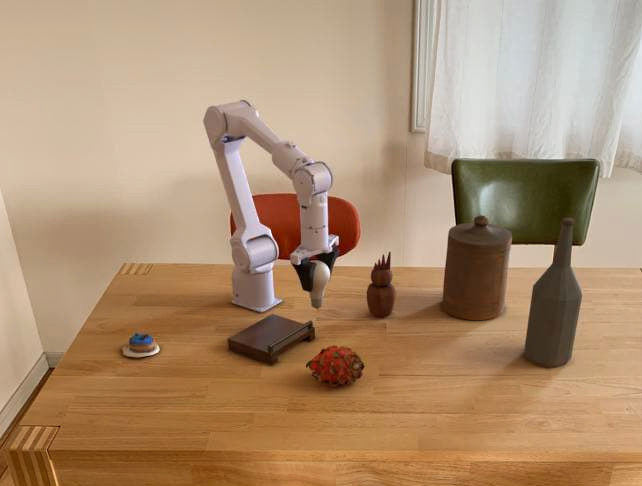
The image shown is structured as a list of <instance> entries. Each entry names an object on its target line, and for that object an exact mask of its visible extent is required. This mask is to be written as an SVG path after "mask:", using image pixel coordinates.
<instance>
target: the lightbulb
mask: <svg viewBox="0 0 642 486" xmlns="http://www.w3.org/2000/svg"><path fill="white" fill-rule="evenodd" d="M310 262H313V263H316V264H317V265H316V267H315V270H314V275H313V289H312V291H311V292H308V293H309V298H310V305H311V307H312V308H314V309H315V310H319V309H320V308H322V307H323V306H324V305H323V304H324V298H325V291H326V287H327V285H328V284H329V282H330V281H329V279H330V280H331V278H330V271H329V268H328V267H327V265H326V264H325V263H323V262H321V261H318V260H317V259H314V260H310Z"/></svg>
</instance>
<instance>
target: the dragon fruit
mask: <svg viewBox="0 0 642 486" xmlns="http://www.w3.org/2000/svg"><path fill="white" fill-rule="evenodd" d="M307 368H309V370H310V371H312V372H311V376H312V377H314V378H315V379H316V380H318V382H319V383H320V382H321V381H327V382H329V385H330V387H332V388H334V387H338V386H339V384H342V386H346V385H348V384H350V383H351V382H352V383H355V382H357V380H359V379H361V378H362V377H363V375H364V373H363V371H364V369H365V364H364V361H363V360H362V358H361V356H360V355H359V354H358V353H357V352H356V351H353V350H352V349H351V348H350V347H348V346H347V345H341V346H340V347H339V346H338V345H328V346H327V347H326V348H321V349H320V351H319V353H318V354H317V355H314V356H313V357H312V358H311V359H309V360H308V361H307V363H306V364H305V369H307Z"/></svg>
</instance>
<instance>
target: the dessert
mask: <svg viewBox="0 0 642 486" xmlns="http://www.w3.org/2000/svg"><path fill="white" fill-rule="evenodd" d="M121 350H122V355H124V357H132V358H143V357H148V356H153V355H155V354H158V353H159V351H160V347H159V345H158V343H157V342H155V340H154V337H153V336H151V335H150V334H149V333H139V332H135V333H134V335H132V336H131V337H130V338H129V340H128V343H126V344H124V346H123V347H122V349H121Z"/></svg>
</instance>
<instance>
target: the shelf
mask: <svg viewBox="0 0 642 486" xmlns="http://www.w3.org/2000/svg"><path fill="white" fill-rule="evenodd" d="M314 340H316V327H315V326H314V322H313V320H309V321H307V322H306V323H303V322H299V321H296V320H293V319H290V318H287V317H284V316H280V315H278V314H275V313H271V314H269V315H267V316H266V317H264V318H261V320H259V321H256V322H255V323H253V324H251V325H249V326H248V327H246V328H244V329H242V330H240V331H238V332H237V333H235V334H233V335H231V336H230V337H227V347H228V351H230V352H233V353H236V354H238V355H241V356H244V357H247V358H249V359H253V360H255V361H258V362H260V363H264V364H266V365H269V366H274V365H275V364H277V363H278V355H280V354H282V353H284V352H285V351H287V350H288V349H290V348H292V347H293V346H295V345H296V344H298V343H300V342H301V341H307V342H312V341H314Z"/></svg>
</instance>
